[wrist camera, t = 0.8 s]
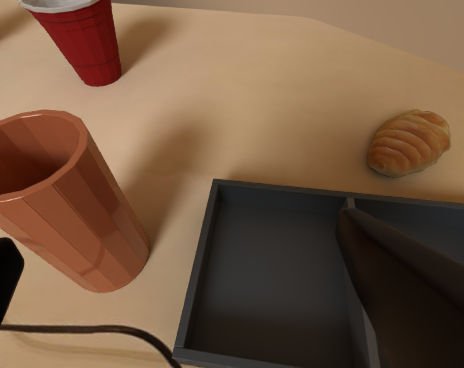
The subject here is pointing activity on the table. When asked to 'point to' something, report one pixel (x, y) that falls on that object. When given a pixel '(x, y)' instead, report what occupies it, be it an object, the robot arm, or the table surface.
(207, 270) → the tray
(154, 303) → the table surface
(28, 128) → the cup
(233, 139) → the table surface
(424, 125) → the pastry
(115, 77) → the plastic cup
